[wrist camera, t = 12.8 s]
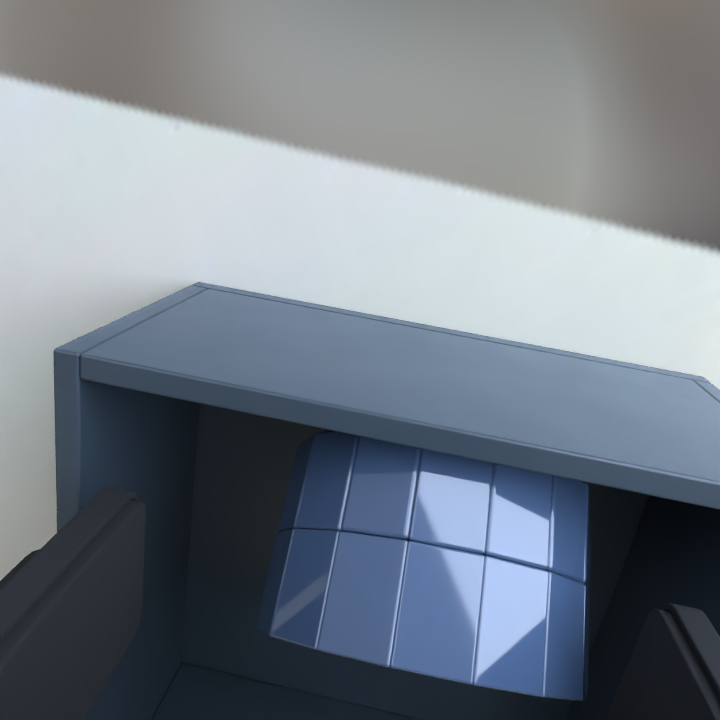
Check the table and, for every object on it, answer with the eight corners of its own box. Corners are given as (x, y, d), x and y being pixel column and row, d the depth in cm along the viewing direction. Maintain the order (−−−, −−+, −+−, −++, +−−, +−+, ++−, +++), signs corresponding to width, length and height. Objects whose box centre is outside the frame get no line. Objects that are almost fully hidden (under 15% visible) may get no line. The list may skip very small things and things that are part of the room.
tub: (173, 657, 21) (62, 860, 15) (198, 281, 16) (51, 348, 10) (561, 750, 20) (614, 1009, 14) (704, 376, 15) (880, 515, 9)
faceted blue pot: (250, 422, 14) (197, 616, 13) (475, 384, 10) (442, 686, 8) (422, 494, 18) (400, 648, 17) (642, 492, 14) (645, 708, 12)
